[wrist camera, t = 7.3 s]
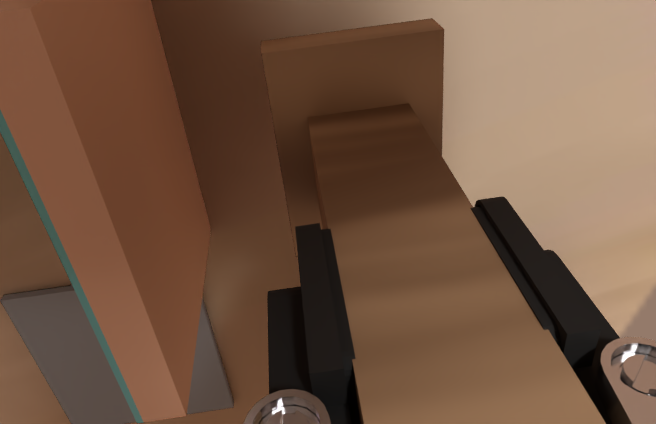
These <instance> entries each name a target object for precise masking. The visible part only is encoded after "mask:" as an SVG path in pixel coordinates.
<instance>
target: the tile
mask: <svg viewBox="0 0 656 424" xmlns="http://www.w3.org/2000/svg"><path fill="white" fill-rule="evenodd" d="M0 133H1V135H2V137H3V139H4V141H5V143H6V145H7V147H8V150H9V152H10V154H11V156H12V158H13V160H14V162H15V164H16V167H17V169H18V171H19V173H20V175H21V177H22V179H23V182H24V184H25V186H26V188H27V190H28V192H29V194H30V196H31V199H32V201H33V203H34V205H35V207H36V209H37V211H38V213H39V216H40V218H41V220H42V222H43V224H44V226H45V228H46V230H47V233H48V235H49V237H50V239H51V241H52V243H53V245H54V247H55V250H56V252H57V254H58V256H59V258H60V260H61V262H62V264H63V267H64V269H65V271H66V273H67V275H68V277H69V279H70V282H71V284H72V286H73V288H74V290H75V292H76V294H77V296H78V299H79V301H80V303H81V305H82V307H83V309H84V311H85V313H86V316H87V318H88V320H89V322H90V324H91V326H92V328H93V330H94V333H95V335H96V337H97V339H98V341H99V343H100V345H101V347H102V350H103V352H104V354H105V356H106V358H107V360H108V362H109V365H110V367H111V369H112V371H113V373H114V375H115V377H116V379H117V382H118V384H119V386H120V388H121V390H122V392H123V394H124V396H125V399H126V401H127V403H128V405H129V407H130V409H131V411H132V413H133V416H134V418H135V420H136V422H137V423H144V422H150V421H157V420H164V419H170V418H177V417H184V416H187V409H188V401H189V394H190V386H191V379H192V371H193V364H194V356H195V349H196V341H197V334H198V326H199V319H200V311H201V304H202V296H203V288H204V281H205V273H206V266H207V258H208V251H209V243H210V236H211V227H210V224H209V220H208V216H207V212H206V208H205V205H204V201H203V197H202V193H201V189H200V186H199V182H198V178H197V174H196V170H195V167H194V163H193V159H192V155H191V151H190V148H189V144H188V140H187V136H186V132H185V128H184V125H183V121H182V117H181V113H180V109H179V106H178V102H177V98H176V94H175V90H174V87H173V83H172V79H171V75H170V71H169V68H168V64H167V60H166V56H165V52H164V49H163V45H162V41H161V37H160V33H159V30H158V26H157V22H156V18H155V14H154V10H153V7H152V3H151V0H0Z"/></svg>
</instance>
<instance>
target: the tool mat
mask: <svg viewBox="0 0 656 424" xmlns="http://www.w3.org/2000/svg"><path fill="white" fill-rule="evenodd" d="M0 301H1V303H2V305H3V307H4V308H5V310H6V312H7V313H8V315H9V317H10V319H11V320H12V322H13V324H14V326H15V327H16V329H17V331H18V332H19V334H20V336H21V338H22V339H23V341H24V343H25V345H26V346H27V348H28V350H29V351H30V353H31V355H32V357H33V358H34V360H35V362H36V364H37V365H38V367H39V369H40V370H41V372H42V374H43V376H44V377H45V379H46V381H47V383H48V384H49V386H50V388H51V389H52V391H53V393H54V395H55V396H56V398H57V400H58V402H59V403H60V405H61V407H62V408H63V410H64V412H65V414H66V415H67V417H68V419H69V421H70V422H71V424H126V423H133V422H136V420H135V418H134V416H133V413H132V411H131V409H130V407H129V405H128V403H127V401H126V399H125V396H124V394H123V392H122V390H121V388H120V386H119V384H118V382H117V379H116V377H115V375H114V373H113V371H112V369H111V367H110V365H109V362H108V360H107V358H106V356H105V354H104V352H103V350H102V347H101V345H100V343H99V341H98V339H97V337H96V335H95V333H94V330H93V328H92V326H91V324H90V322H89V320H88V318H87V316H86V313H85V311H84V309H83V307H82V305H81V303H80V301H79V299H78V296H77V294H76V292H75V290H74V288H73V286H65V287H58V288H51V289H44V290H37V291H30V292H22V293H15V294H8V295H3V297H2V299H1V300H0ZM233 407H234V401H233V397H232V394H231V391H230V387H229V384H228V381H227V377H226V374H225V371H224V367H223V364H222V360H221V357H220V354H219V350H218V347H217V344H216V340H215V337H214V334H213V330H212V327H211V324H210V320H209V317H208V314H207V310H206V307H205V304H204V300H203V297H202V304H201V311H200V319H199V326H198V334H197V341H196V349H195V356H194V364H193V371H192V379H191V386H190V394H189V401H188V409H187V414H193V413H200V412H206V411H213V410H220V409H226V408H233Z"/></svg>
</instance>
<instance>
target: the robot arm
mask: <svg viewBox="0 0 656 424" xmlns="http://www.w3.org/2000/svg"><path fill="white" fill-rule="evenodd" d="M471 210H472V212H473V213H474V215H475V217H476V218H477V220H478V222H479V223H480V225H481V227H482V228H483V230H484V232H485V233H486V235H487V237H488V238H489V240H490V241H491V243H492V245H493V246H494V248H495V250H496V251H497V253H498V255H499V256H500V258H501V260H502V261H503V263H504V265H505V266H506V268H507V270H508V271H509V273H510V275H511V276H512V278H513V280H514V281H515V283H516V285H517V286H518V288H519V290H520V291H521V293H522V294H523V296H524V298H525V299H526V301H527V303H528V304H529V306H530V308H531V309H532V311H533V313H534V314H535V316H536V318H537V319H538V321H539V323H540V324H541V326H542V328H543V329H544V330H547V329H548V330H549V332H550V333H551V335H552V336H553V338H554V340H555V341H556V343H557V345H558V346H559V348H560V350H561V351H562V353H563V354H564V356H565V358H566V359H567V361H568V363H569V364H570V366H571V367H572V369H573V371H574V372H575V374H576V376H577V377H578V379H579V380H580V382H581V384H582V385H583V387H584V389H585V390H586V392H587V393H588V395H589V397H590V398H591V400H592V402H593V403H594V405H595V406H596V408H597V410H598V411H599V413H600V415H601V416H602V418H603V419H604V421H605V423H606V424H656V341H655V340H651V339H647V338H642V337H624V338H620V337H619V336H618V335H617V334H616V332H615V331H614V330H613V328H612V327H611V326H610V324H609V323H608V322H607V320H606V319H605V318H604V316H603V315H602V314H601V312H600V311H599V310H598V308H597V307H596V306H595V304H594V303H593V302H592V300H591V299H590V298H589V296H588V295H587V294H586V292H585V291H584V290H583V288H582V287H581V286H580V284H579V283H578V282H577V280H576V279H575V278H574V276H573V275H572V274H571V272H570V271H569V270H568V268H567V267H566V266H565V264H564V263H563V262H562V260H561V259H560V258H559V257H558V255H557V254H556V253H555V252H554V251H551V250H543V249H542V247H541V246H540V245H539V243H538V242H537V241H536V239H535V238H534V236H533V235H532V234H531V232H530V231H529V230H528V228H527V227H526V225H525V224H524V223H523V221H522V220H521V219H520V217H519V216H518V214H517V213H516V212H515V210H514V209H513V208H512V206H511V205H510V203H509V202H508V201H507V199H506V198H505V197H496V198H489V199H482V200H478V201H476V204H475V207H473V208H471ZM295 231H296V241H297V252H298V262H299V272H300V283H301V287H294V288H287V289H280V290H274V291H268V351H269V395H267V396H265V397H264V398H263V399H261V400H260V401H258V402H257V403H256V404H255V405H254V406H253V408H252V409H251V410H250V411H249V412H248V414H247V417H246V419H245V421H244V423H243V424H360V420H359V411H358V402H357V393H356V384H355V376H354V368H353V362H352V359H356V358H355V352H354V347H353V342H352V337H351V332H350V326H349V321H348V316H347V311H346V306H345V300H344V295H343V290H342V285H341V280H340V275H339V269H338V264H337V259H336V254H335V249H334V244H333V238H332V233H331V228H330V229H328V228H327V229H321V227H320V223H316V224H309V225H302V226H295Z"/></svg>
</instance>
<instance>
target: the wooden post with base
mask: <svg viewBox="0 0 656 424" xmlns="http://www.w3.org/2000/svg"><path fill="white" fill-rule="evenodd" d="M261 55H262V61H263V66H264V72H265V78H266V84H267V90H268V96H269V102H270V108H271V113H272V119H273V125H274V131H275V137H276V143H277V149H278V154H279V160H280V166H281V172H282V178H283V184H284V190H285V196H286V201H287V207H288V213H289V219H290V225H291V231H292V237H293V242H294V248H295V254H296V257H298V252H297V241H296V231H295V226H302V225H309V224H316V223H320V227H321V229H327V228H328V229H330V228H331V233H332V238H333V244H334V249H335V254H336V259H337V264H338V269H339V275H340V280H341V285H342V290H343V295H344V300H345V306H346V311H347V316H348V321H349V326H350V332H351V337H352V342H353V347H354V352H355V358H356V359H352V362H353V368H354V376H355V384H356V393H357V402H358V411H359V420H360V424H606V423H605V421H604V419H603V418H602V416H601V415H600V413H599V411H598V410H597V408H596V406H595V405H594V403H593V402H592V400H591V398H590V397H589V395H588V393H587V392H586V390H585V389H584V387H583V385H582V384H581V382H580V380H579V379H578V377H577V376H576V374H575V372H574V371H573V369H572V367H571V366H570V364H569V363H568V361H567V359H566V358H565V356H564V354H563V353H562V351H561V350H560V348H559V346H558V345H557V343H556V341H555V340H554V338H553V336H552V335H551V333H550V332H549V330H548V329H547V330H544V329H543V328H542V326H541V324H540V323H539V321H538V319H537V318H536V316H535V314H534V313H533V311H532V309H531V308H530V306H529V304H528V303H527V301H526V299H525V298H524V296H523V294H522V293H521V291H520V290H519V288H518V286H517V285H516V283H515V281H514V280H513V278H512V276H511V275H510V273H509V271H508V270H507V268H506V266H505V265H504V263H503V261H502V260H501V258H500V256H499V255H498V253H497V251H496V250H495V248H494V246H493V245H492V243H491V241H490V240H489V238H488V237H487V235H486V233H485V232H484V230H483V228H482V227H481V225H480V223H479V222H478V220H477V218H476V217H475V215H474V213H473V212H472V210H471V208H473V206H472V205H471V203H470V202H469V200H468V198H467V197H466V195H465V193H464V192H463V190H462V189H461V187H460V185H459V184H458V182H457V180H456V179H455V177H454V175H453V174H452V172H451V171H450V169H449V167H448V166H447V164H446V162H445V161H444V159H443V158H442V113H443V59H444V29H443V28H442V27H441V26H440V25H439V24H438V23H437V22H436V21H435V20H433V19H432V18H431V19H424V20H416V21H409V22H401V23H394V24H386V25H379V26H371V27H364V28H356V29H348V30H341V31H333V32H326V33H318V34H311V35H303V36H296V37H288V38H280V39H273V40H265V41H261Z"/></svg>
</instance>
